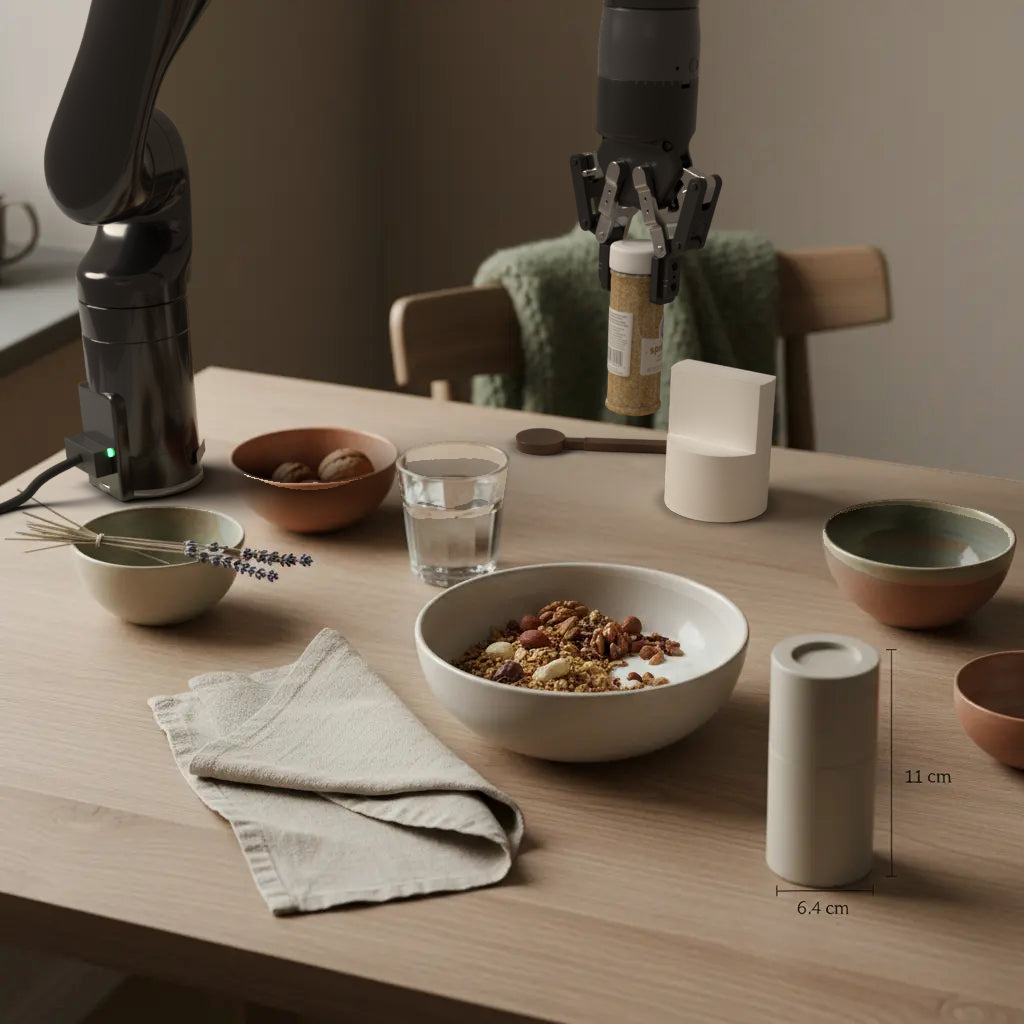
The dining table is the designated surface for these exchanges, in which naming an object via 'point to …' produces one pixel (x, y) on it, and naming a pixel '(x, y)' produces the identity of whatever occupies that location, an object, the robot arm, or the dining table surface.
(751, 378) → the base with upright slab
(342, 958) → the dining table surface
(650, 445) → the spoon
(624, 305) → the spice jar
